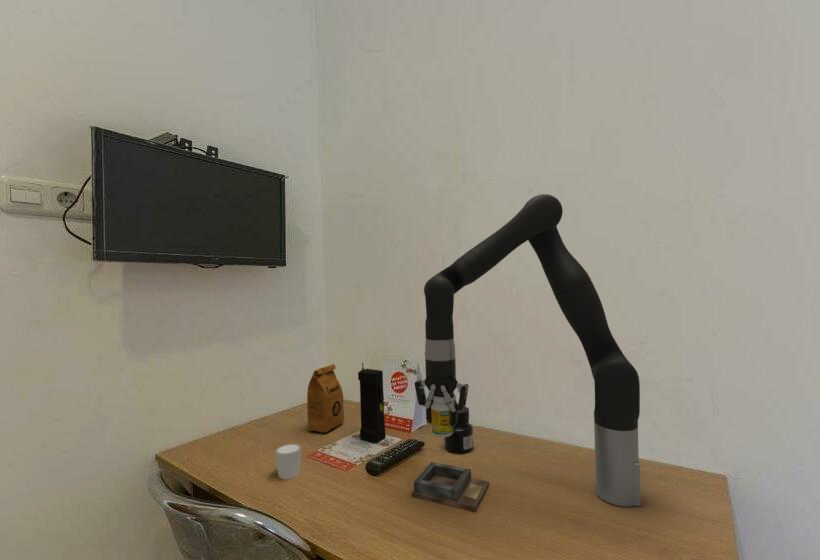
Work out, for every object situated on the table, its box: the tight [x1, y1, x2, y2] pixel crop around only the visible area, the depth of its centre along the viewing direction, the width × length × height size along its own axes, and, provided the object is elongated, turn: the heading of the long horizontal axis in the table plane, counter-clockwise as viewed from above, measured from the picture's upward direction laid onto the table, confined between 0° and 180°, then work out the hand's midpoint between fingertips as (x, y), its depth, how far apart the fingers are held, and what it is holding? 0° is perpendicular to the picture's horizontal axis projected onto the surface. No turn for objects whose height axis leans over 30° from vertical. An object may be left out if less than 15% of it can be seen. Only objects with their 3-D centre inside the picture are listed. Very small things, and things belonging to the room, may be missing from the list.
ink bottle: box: [443, 406, 474, 454], centre depth 122 cm, size 10×9×12 cm
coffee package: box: [306, 363, 345, 433], centre depth 141 cm, size 10×12×22 cm
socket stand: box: [411, 461, 490, 512], centre depth 97 cm, size 16×12×4 cm
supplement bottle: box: [431, 396, 453, 438], centre depth 98 cm, size 5×5×10 cm
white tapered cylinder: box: [274, 443, 302, 480], centre depth 108 cm, size 7×7×7 cm
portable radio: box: [357, 362, 387, 444], centre depth 130 cm, size 8×6×25 cm
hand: (442, 423), depth 98 cm, fingers closed on supplement bottle, 5 cm apart
